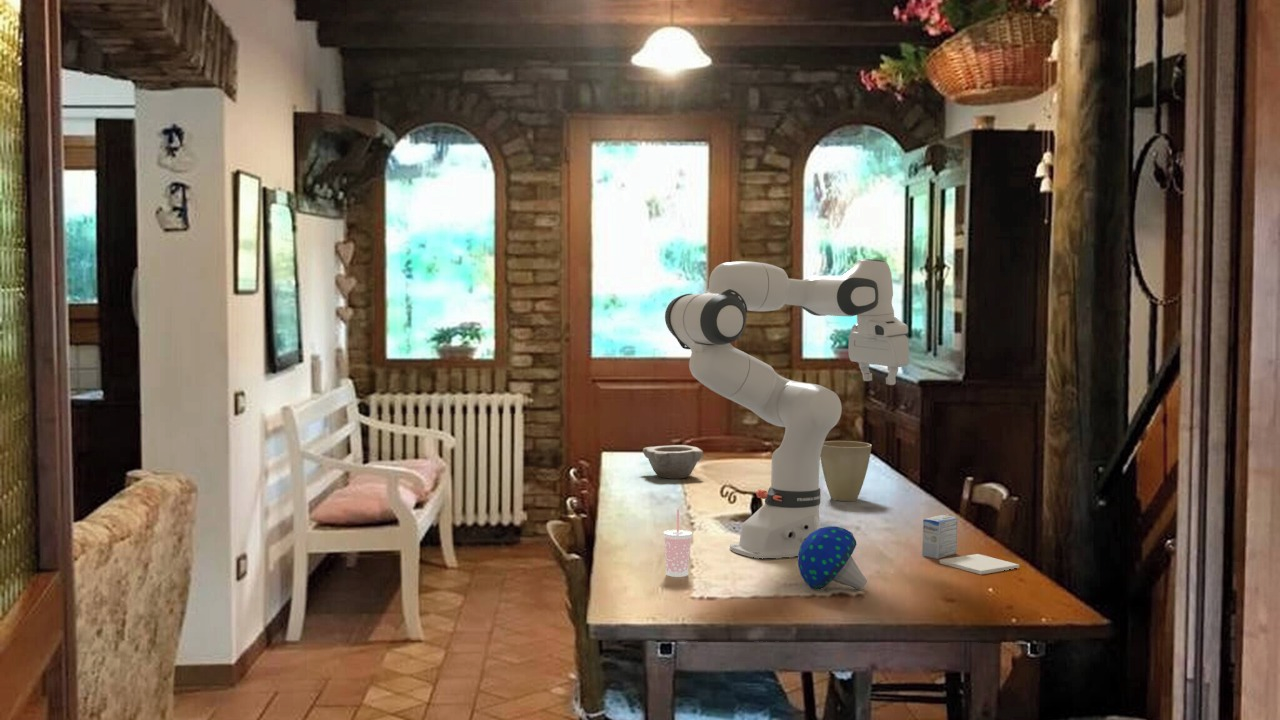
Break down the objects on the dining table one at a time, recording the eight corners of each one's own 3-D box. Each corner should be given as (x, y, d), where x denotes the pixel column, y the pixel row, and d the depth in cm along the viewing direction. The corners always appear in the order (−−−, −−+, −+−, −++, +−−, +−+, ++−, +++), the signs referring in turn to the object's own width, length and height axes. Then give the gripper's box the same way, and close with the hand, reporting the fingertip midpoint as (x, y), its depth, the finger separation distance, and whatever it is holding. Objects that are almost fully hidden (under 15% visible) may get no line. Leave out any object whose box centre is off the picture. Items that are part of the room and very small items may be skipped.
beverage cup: (662, 570, 266) (663, 506, 265) (691, 571, 265) (692, 506, 264) (662, 577, 260) (663, 511, 259) (691, 578, 259) (692, 512, 258)
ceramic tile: (980, 574, 265) (980, 570, 265) (939, 563, 276) (939, 559, 275) (1019, 568, 272) (1019, 564, 272) (977, 557, 282) (977, 553, 282)
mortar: (639, 473, 395) (639, 445, 394) (689, 471, 400) (690, 443, 399) (654, 482, 379) (654, 452, 378) (706, 480, 384) (707, 450, 383)
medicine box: (940, 551, 288) (941, 514, 288) (957, 554, 285) (958, 517, 284) (921, 556, 283) (922, 518, 282) (938, 559, 279) (939, 521, 279)
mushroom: (891, 558, 245) (831, 511, 246) (849, 615, 243) (789, 568, 244) (876, 557, 259) (819, 512, 260) (836, 611, 257) (779, 566, 258)
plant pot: (881, 500, 352) (882, 445, 351) (843, 505, 343) (844, 448, 342) (844, 492, 364) (845, 439, 363) (806, 497, 356) (808, 442, 354)
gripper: (840, 324, 305) (843, 380, 307) (890, 329, 286) (893, 388, 288) (861, 322, 307) (864, 377, 309) (912, 326, 289) (915, 384, 291)
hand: (879, 382), depth 298 cm, fingers open, 8 cm apart
